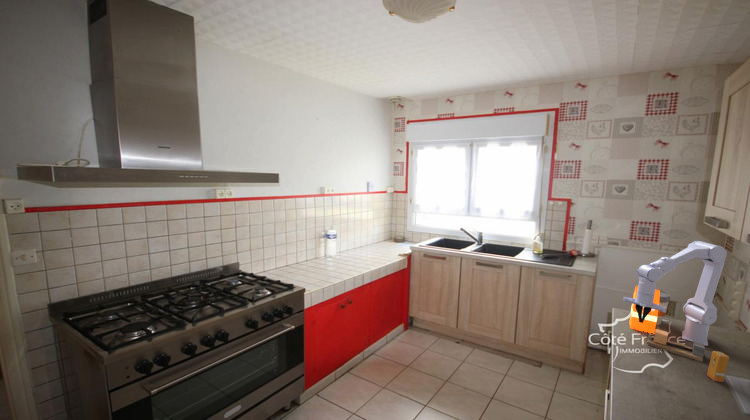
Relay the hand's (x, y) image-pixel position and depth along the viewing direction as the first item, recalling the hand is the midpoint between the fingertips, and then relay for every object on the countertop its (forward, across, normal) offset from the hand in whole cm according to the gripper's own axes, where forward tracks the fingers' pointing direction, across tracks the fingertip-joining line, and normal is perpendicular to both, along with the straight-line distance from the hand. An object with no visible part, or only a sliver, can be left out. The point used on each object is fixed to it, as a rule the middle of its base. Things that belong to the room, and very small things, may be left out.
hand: (641, 321), depth 142 cm
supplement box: (+8, +23, -15) cm, 29 cm away
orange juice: (+8, 0, +13) cm, 15 cm away
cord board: (+8, +12, 0) cm, 14 cm away
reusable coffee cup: (+8, +2, +25) cm, 26 cm away
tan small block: (+6, +7, 0) cm, 9 cm away
